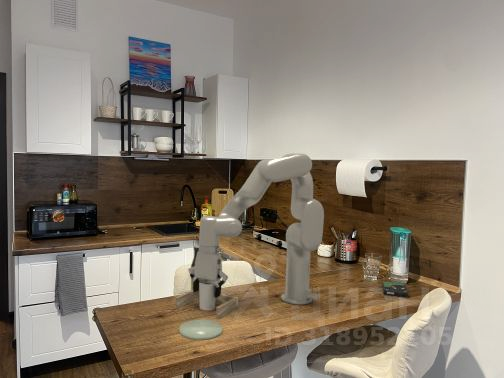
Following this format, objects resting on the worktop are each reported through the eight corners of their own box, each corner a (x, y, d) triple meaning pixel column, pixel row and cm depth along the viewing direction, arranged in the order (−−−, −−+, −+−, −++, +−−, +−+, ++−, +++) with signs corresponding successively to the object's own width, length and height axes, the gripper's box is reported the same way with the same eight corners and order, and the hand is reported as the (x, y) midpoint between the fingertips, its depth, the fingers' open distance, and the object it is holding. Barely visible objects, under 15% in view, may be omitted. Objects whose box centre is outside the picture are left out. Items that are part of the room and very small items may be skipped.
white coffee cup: (212, 311, 148) (213, 285, 147) (195, 309, 150) (196, 283, 149) (218, 305, 155) (219, 280, 154) (202, 303, 156) (203, 278, 156)
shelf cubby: (237, 307, 153) (238, 297, 153) (218, 319, 142) (219, 308, 141) (196, 298, 162) (196, 288, 162) (175, 307, 151) (175, 297, 150)
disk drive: (408, 299, 173) (405, 288, 187) (408, 293, 173) (405, 283, 187) (383, 296, 175) (381, 286, 190) (383, 290, 175) (382, 280, 189)
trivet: (230, 327, 135) (230, 325, 134) (206, 343, 122) (206, 341, 122) (196, 318, 141) (196, 316, 141) (170, 332, 129) (170, 330, 129)
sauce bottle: (198, 289, 173) (200, 243, 172) (208, 292, 169) (210, 246, 168) (187, 292, 168) (188, 245, 167) (197, 296, 164) (198, 248, 163)
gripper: (233, 251, 150) (231, 296, 151) (196, 244, 158) (193, 287, 159) (222, 254, 143) (220, 301, 144) (184, 247, 151) (182, 292, 152)
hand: (206, 294), depth 152 cm, fingers open, 9 cm apart
